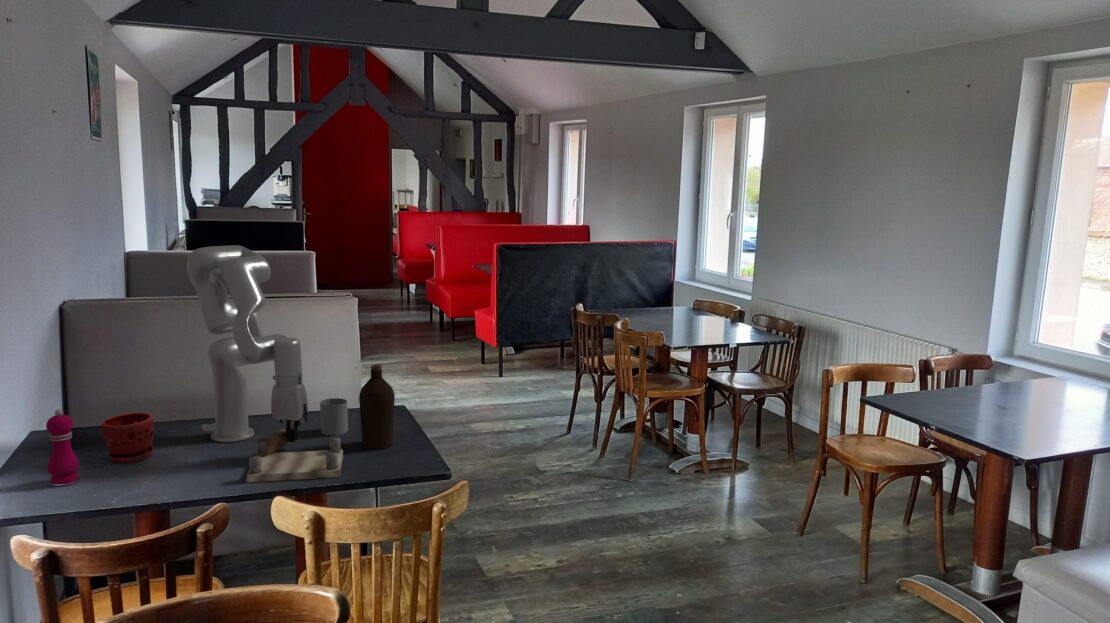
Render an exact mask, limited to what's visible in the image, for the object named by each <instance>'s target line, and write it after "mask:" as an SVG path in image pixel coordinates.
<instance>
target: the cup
mask: <svg viewBox="0 0 1110 623" xmlns="http://www.w3.org/2000/svg"><path fill="white" fill-rule="evenodd" d="M319 406H320V407H319V410H320V413H319V414H320V416H319V417H320V433H321V435H323V434H325V435H324V436H328V435H336V436H340V435H339V434H342V435H344V434H343V433H345V432H347V431H348V432H349V419H348V417H349V415H348V414H349V413H348V400H347V399H345V398H338V397H336V398H328V399H323V400H321V401H320V402H319ZM348 432H347V433H348ZM345 434H346V433H345Z"/></svg>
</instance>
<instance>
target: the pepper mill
mask: <svg viewBox="0 0 1110 623" xmlns="http://www.w3.org/2000/svg"><path fill="white" fill-rule="evenodd" d="M73 427H74V421H73V418H72V417H71V416H70V415H67V414H64V413H63V410H62V409H59V408H58V409H56V410H55V411H54V415H53V416H51V417H49V419H48V420H47V421H46V430H47V432H49V433H50V434H49V436H48V437H49V441H51V443H52V452H51V454H50V457H49V460H48V462H47V468H46V469H47V472H48V474H49V475H51V477H50V484H51V483H52V484H57V485H58V484H68V483H71V482H74V481H77V480H78V479H79V473H78V472H77V471H78V470H79V468H80V461H79V458H78V456H77V455H76V453H75V451H74V450H73V448H72V445H71V439H72V437H73V433H72V431H71V430H72V429H73ZM79 480H80V479H79ZM79 480H78V481H79ZM78 481H77V482H78Z"/></svg>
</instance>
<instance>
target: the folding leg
mask: <svg viewBox="0 0 1110 623" xmlns="http://www.w3.org/2000/svg"><path fill="white" fill-rule="evenodd" d="M291 443H293V442H287V440H286V429H284V427H283V428H281V429H279V430H276V431H275V432H272V433H269V434H267V435H265V436H263V437H261V438H258V439H257V454H258V455H268V454H270V453H275V451H278V450H280V449H281V448H283V447H286V446H287V445H289V444H291Z"/></svg>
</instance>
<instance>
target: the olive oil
mask: <svg viewBox="0 0 1110 623" xmlns="http://www.w3.org/2000/svg"><path fill="white" fill-rule="evenodd" d="M382 366H383V365H382V364H372V365H370V368H371V369H370V378H369V379H368V381H366V382H365V384H364V385H363V386H362V387H361V389H360V392H359V395H358V403H359V415H360V425H361V426H360V427H361V441H362V442H361V443H362V444H361V445H362V447H364V448H366V449H368V450H381V449H388V448H390V447H392V446H393V445H394V426H395V401H396V400H395V399H396V397H395V392H394V389H393V387H392V385H390V384H389V383H388V382H387V380H385V379H384V378H383V370H382Z"/></svg>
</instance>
